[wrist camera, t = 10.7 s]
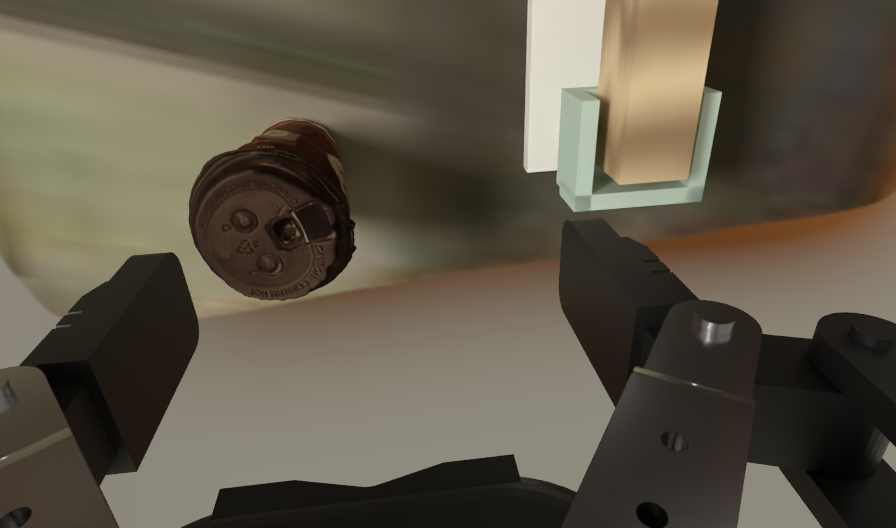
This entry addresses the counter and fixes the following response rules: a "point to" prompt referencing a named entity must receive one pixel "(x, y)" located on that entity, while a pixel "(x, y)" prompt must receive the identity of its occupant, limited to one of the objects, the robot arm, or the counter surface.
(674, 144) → the tan rectangular bar
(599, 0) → the bracket stand
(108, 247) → the counter surface
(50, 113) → the counter surface
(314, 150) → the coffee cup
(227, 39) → the counter surface
